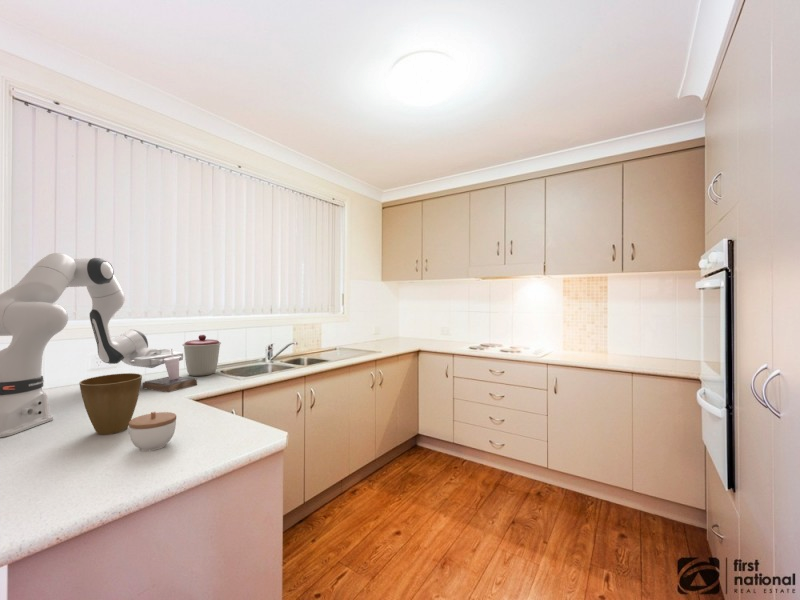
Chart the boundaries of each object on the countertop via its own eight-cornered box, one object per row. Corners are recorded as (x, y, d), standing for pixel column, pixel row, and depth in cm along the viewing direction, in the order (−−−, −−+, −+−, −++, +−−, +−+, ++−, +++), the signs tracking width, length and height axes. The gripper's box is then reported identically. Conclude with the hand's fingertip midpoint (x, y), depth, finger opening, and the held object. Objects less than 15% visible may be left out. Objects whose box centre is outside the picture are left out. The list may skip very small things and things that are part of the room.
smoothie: (176, 380, 163) (172, 350, 162) (162, 381, 163) (158, 350, 162) (185, 376, 170) (181, 346, 168) (171, 377, 170) (168, 347, 169)
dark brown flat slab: (168, 391, 155) (168, 384, 155) (142, 388, 161) (142, 381, 161) (196, 384, 168) (196, 378, 168) (172, 381, 174) (172, 375, 174)
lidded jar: (168, 436, 106) (168, 404, 106) (182, 445, 99) (182, 411, 99) (123, 447, 98) (123, 412, 98) (135, 458, 91) (135, 421, 91)
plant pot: (92, 425, 114) (92, 375, 114) (148, 420, 119) (148, 371, 119) (68, 443, 100) (68, 385, 100) (132, 436, 105) (132, 381, 105)
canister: (173, 376, 186) (174, 335, 186) (202, 370, 203) (202, 332, 203) (201, 379, 181) (201, 336, 181) (228, 372, 198) (228, 333, 198)
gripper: (127, 354, 160) (148, 356, 155) (170, 348, 179) (191, 350, 174) (127, 368, 160) (148, 371, 155) (170, 361, 179) (191, 363, 174)
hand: (171, 360), depth 165 cm, fingers open, 8 cm apart
